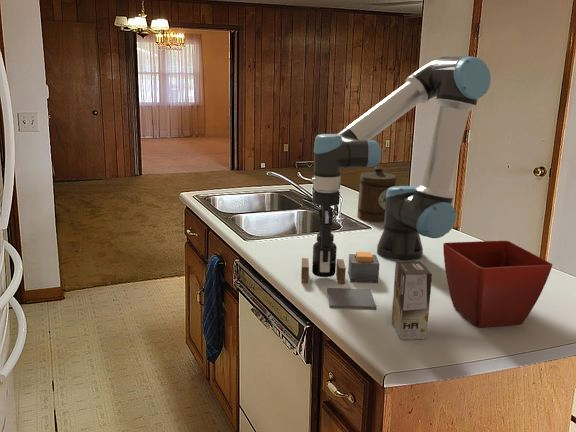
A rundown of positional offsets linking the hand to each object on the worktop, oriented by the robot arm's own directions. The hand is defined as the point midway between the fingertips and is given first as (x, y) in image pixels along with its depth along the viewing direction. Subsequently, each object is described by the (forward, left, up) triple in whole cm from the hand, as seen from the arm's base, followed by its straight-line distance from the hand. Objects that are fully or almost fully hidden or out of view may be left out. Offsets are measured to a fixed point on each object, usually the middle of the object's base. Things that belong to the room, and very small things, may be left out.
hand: (324, 266), depth 163 cm
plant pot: (-41, +22, -4) cm, 46 cm away
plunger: (-12, -2, -2) cm, 12 cm away
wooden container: (-25, -73, -4) cm, 77 cm away
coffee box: (-19, +32, -4) cm, 37 cm away
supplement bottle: (0, 0, -2) cm, 2 cm away
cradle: (0, 0, -4) cm, 4 cm away
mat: (-7, +14, -4) cm, 16 cm away
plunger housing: (-12, -2, -4) cm, 12 cm away
